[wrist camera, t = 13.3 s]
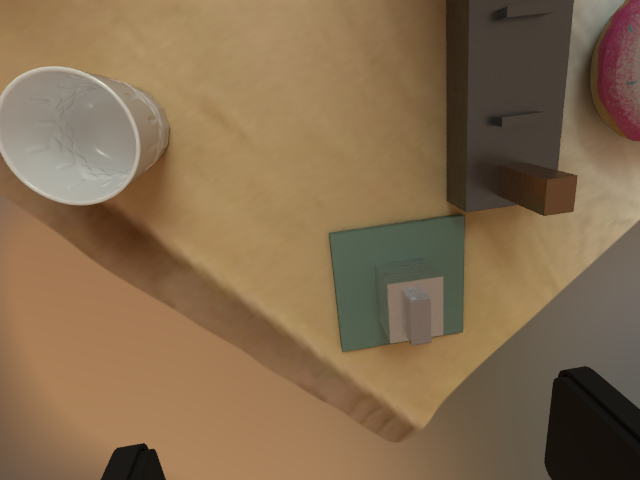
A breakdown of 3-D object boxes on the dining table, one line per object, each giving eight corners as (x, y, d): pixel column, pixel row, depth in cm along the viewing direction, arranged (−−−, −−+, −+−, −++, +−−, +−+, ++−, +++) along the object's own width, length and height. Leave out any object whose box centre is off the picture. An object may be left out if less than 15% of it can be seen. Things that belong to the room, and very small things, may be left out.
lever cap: (425, 310, 41) (448, 342, 36) (378, 317, 40) (394, 351, 35) (424, 257, 39) (449, 282, 33) (374, 264, 38) (391, 291, 33)
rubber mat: (329, 232, 37) (329, 235, 37) (461, 213, 38) (464, 215, 38) (341, 348, 42) (342, 351, 41) (460, 329, 43) (462, 332, 42)
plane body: (527, 189, 38) (609, 219, 29) (446, 201, 38) (504, 234, 28) (546, -89, 31) (666, -171, 21) (446, -80, 30) (524, -160, 21)
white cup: (170, 75, 32) (127, 65, 22) (183, 174, 34) (149, 202, 25) (65, 76, 31) (-26, 66, 21) (86, 177, 33) (14, 208, 24)
